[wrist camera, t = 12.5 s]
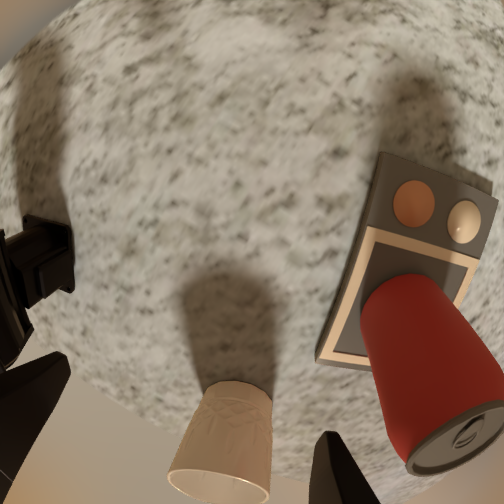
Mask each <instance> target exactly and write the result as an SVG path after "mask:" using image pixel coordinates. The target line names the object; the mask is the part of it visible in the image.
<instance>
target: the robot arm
mask: <svg viewBox="0 0 504 504" xmlns="http://www.w3.org/2000/svg"><path fill="white" fill-rule="evenodd" d="M65 231H66V232H65ZM4 236H5V233H4V229H0V504H3V502H4V500H5V498H6V495H7V493H8V491H9V489H10V487H11V485H12V483H13V481H14V479H15V477H16V475H17V473H18V471H19V469H20V467H21V466H22V464H23V462H24V460H25V458H26V456H27V454H28V452H29V451H30V449H31V447H32V445H33V444H34V442H35V440H36V438H37V437H38V435H39V433H40V432H41V430H42V428H43V426H44V425H45V423H46V421H47V420H48V418H49V416H50V415H51V413H52V412H53V410H54V408H55V406H56V404H57V402H58V400H59V398H60V396H61V394H62V392H63V390H64V388H65V385H66V383H67V381H68V379H69V377H70V375H71V369H70V366H69V362H68V359H67V356H66V355H65V354H63V353H61V352H58V351H55V352H53V353H50V354H48V355H45V356H43V357H40V358H38V359H36V360H33V361H30V362H28V363H25V364H23V365H20V366H18V367H15V368H13V369H10V370H8V371H6V369H7V368H9V367H10V366H11V365H12V364H13V363H14V362H15V361H16V360H17V358H18V356H19V355H20V353H21V351H22V349H23V348H24V346H25V344H26V342H27V341H28V339H29V338H30V336H31V334H32V333H33V331H34V328H33V325H32V323H30V320H29V317H28V315H27V312H26V309H25V308H27V309H30V308H31V307H32V306H34V305H35V304H36V303H37V302H39V301H40V300H41V299H43V298H44V299H46V298H47V297H48V296H50V295H51V294H52V293H53V292H55V291H56V290H57V289H60V290H62V291H65V292H67V293H72V292H73V291H74V290H75V286H74V277H73V265H72V250H71V230H70V227H69V226H68V225H65V224H62V223H58V222H54V221H50V220H47V219H43V218H39V217H36V216H32V215H25V216H23V231H22V232H20V233H18V234H16V235H13V236H11V237H9V238H7V239H5V238H4ZM69 287H70V288H69ZM309 504H381V503H380V502H379V500H378V498H377V497H376V495H375V494H374V492H373V490H372V489H371V487H370V485H369V484H368V482H367V480H366V479H365V477H364V475H363V474H362V472H361V470H360V469H359V467H358V465H357V464H356V462H355V460H354V459H353V457H352V455H351V454H350V452H349V450H348V449H347V447H346V445H345V444H344V442H343V440H342V439H341V437H340V435H339V434H338V433H337V432H335V431H325V432H324V433H323V434H322V435H321V437H320V438H319V440H318V441H317V443H316V445H315V449H314V456H313V464H312V471H311V477H310V485H309Z"/></svg>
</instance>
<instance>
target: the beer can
mask: <svg viewBox="0 0 504 504" xmlns="http://www.w3.org/2000/svg"><path fill="white" fill-rule="evenodd" d="M360 330H361V334H362V337H363V341H364V344H365V348H366V351H367V355H368V358H369V362H370V365H371V369H372V373H373V376H374V380H375V384H376V388H377V392H378V396H379V400H380V404H381V408H382V412H383V416H384V421H385V425H386V430H387V434H388V437H389V439H390V441H391V443H392V445H393V447H394V449H395V451H396V452H397V454H398V455H399V456H400V458H401V459H402V460H403V461H404V462H405V463H406V465H405V467H406V469H407V472H408V473H409V474H412V475H414V476H418V477H427V476H433V475H438V474H442V473H445V472H447V471H450V470H453V469H455V468H457V467H459V466H461V465H463V464H465V463H467V462H469V461H471V460H472V459H474V458H475V457H477V456H478V455H480V454H481V453H482V452H484V451H485V450H486V449H487V448H489V447H490V446H491V445H492V444H493V443H494V442H495V441H496V440H497V439H498V438H499V437H500V436H501V435H502V434H503V432H504V373H503V371H502V369H501V367H500V365H499V364H498V363H497V361H496V360H495V358H494V357H493V355H492V354H491V352H490V351H489V350H488V348H487V347H486V345H485V344H484V343H483V341H482V340H481V339H480V337H479V336H478V335H477V333H476V332H475V331H474V329H473V328H472V327H471V325H470V324H469V323H468V322H467V320H466V319H465V318H464V316H463V315H462V314H461V313H460V311H459V310H458V309H457V308H456V307H455V305H454V304H453V303H452V302H451V300H450V299H449V298H448V297H447V296H446V294H445V293H444V292H443V291H442V290H441V289H440V287H439V286H438V285H437V284H436V283H435V282H434V281H433V280H431V279H430V278H428V277H426V276H424V275H419V274H410V273H409V274H405V275H400V276H396V277H394V278H392V279H390V280H388V281H386V282H384V283H383V284H382V285H380V286H379V287H378V288H377V289H376V290H375V291H374V292H373V293H372V294H371V296H370V297H369V299H368V300H367V302H366V303H365V305H364V307H363V311H362V314H361V317H360Z"/></svg>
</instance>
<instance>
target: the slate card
mask: <svg viewBox="0 0 504 504" xmlns="http://www.w3.org/2000/svg"><path fill="white" fill-rule="evenodd" d="M498 202H499V200H498V199H496V198H494V197H492V196H490V195H488V194H486V193H484V192H482V191H480V190H477V189H475V188H473V187H471V186H469V185H467V184H465V183H462V182H460V181H458V180H456V179H453V178H451V177H449V176H446V175H444V174H442V173H439V172H437V171H434V170H432V169H429V168H427V167H424V166H422V165H419V164H416V163H414V162H411V161H408V160H406V159H403V158H400V157H397V156H394V155H391V154H388V153H385V152H380V155H379V160H378V164H377V168H376V172H375V176H374V180H373V184H372V188H371V192H370V195H369V199H368V203H367V206H366V210H365V213H364V217H363V220H362V224H361V227H360V230H359V234H358V237H357V240H356V243H355V247H354V250H353V253H352V256H351V259H350V262H349V265H348V268H347V271H346V274H345V277H344V280H343V283H342V285H341V288H340V291H339V294H338V297H337V299H336V302H335V305H334V307H333V310H332V313H331V315H330V318H329V321H328V323H327V326H326V328H325V331H324V333H323V336H322V338H321V341H320V343H319V346H318V348H317V350H316V353H315V363H316V364H322V365H328V366H334V367H341V368H348V369H355V370H363V371H371V372H372V369H371V365H370V362H369V358H368V355H367V351H366V348H365V344H364V341H363V337H362V334H361V330H360V317H361V314H362V311H363V307H364V305H365V303H366V302H367V300H368V299H369V297H370V296H371V294H372V293H373V292H374V291H375V290H376V289H377V288H378V287H379V286H380V285H382V284H383V283H384V282H386V281H388V280H390V279H392V278H394V277H396V276H400V275H405V274H409V273H410V274H419V275H424V276H426V277H428V278H430V279H431V280H433V281H434V282H435V283H436V284H437V285H438V286H439V287H440V289H441V290H442V291H443V292H444V293H445V294H446V296H447V297H448V298H449V299H450V300H451V302H452V303H453V304H454V305H455V307H456V308H457V309H458V308H459V306H460V304H461V302H462V300H463V298H464V295H465V293H466V291H467V289H468V287H469V284H470V282H471V280H472V277H473V275H474V273H475V270H476V268H477V265H478V263H479V260H480V257H481V255H482V252H483V249H484V247H485V244H486V241H487V238H488V235H489V232H490V229H491V226H492V223H493V219H494V216H495V213H496V209H497V206H498Z"/></svg>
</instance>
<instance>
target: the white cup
mask: <svg viewBox="0 0 504 504" xmlns="http://www.w3.org/2000/svg"><path fill="white" fill-rule="evenodd" d="M272 433H273V427H272V401H271V400H270V398H269V397H268V395H267V394H266V393H265V392H264V391H262V390H261V389H259V388H257V387H255V386H254V385H252V384H248V383H244V382H239V381H221V382H218V383H216V384H214V385H211V386H209V387H208V388H207V390H206V391H205V393H204V395H203V397H202V399H201V402H200V404H199V407H198V409H197V410H196V411H195V413H194V415H193V417H192V420H191V421H190V423H189V425H188V428H187V430H186V432H185V434H184V437H183V439H182V442H181V444H180V446H179V449H178V451H177V453H176V455H175V458H174V460H173V462H172V464H171V467H170V469H169V471H168V473H167V479H168V481H169V483H170V484H171V485H172V486H173V487H175V488H176V489H177V490H179V491H181V492H182V493H184V494H186V495H188V496H190V497H193V498H195V499H198V500H201V501H204V502H208V503H212V504H262V503H264V502H266V501H267V500H268V499H269V495H270V479H271V461H272V443H273V438H272Z"/></svg>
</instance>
